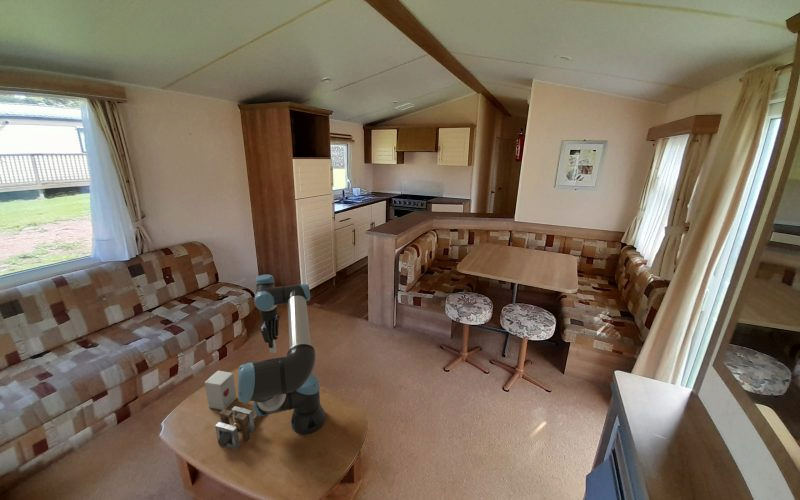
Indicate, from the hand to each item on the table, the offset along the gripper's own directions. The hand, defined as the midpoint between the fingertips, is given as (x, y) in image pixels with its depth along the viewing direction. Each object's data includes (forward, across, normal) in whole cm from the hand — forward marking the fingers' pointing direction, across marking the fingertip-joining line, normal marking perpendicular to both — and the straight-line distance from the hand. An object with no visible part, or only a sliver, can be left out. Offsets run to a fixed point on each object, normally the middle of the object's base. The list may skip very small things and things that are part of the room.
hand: (273, 352), depth 152 cm
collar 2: (+27, +20, -5) cm, 34 cm away
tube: (+25, +24, -5) cm, 35 cm away
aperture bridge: (+27, +24, -5) cm, 37 cm away
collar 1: (+27, +29, -5) cm, 40 cm away
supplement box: (+27, +8, -25) cm, 38 cm away
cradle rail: (+27, +9, -4) cm, 29 cm away
